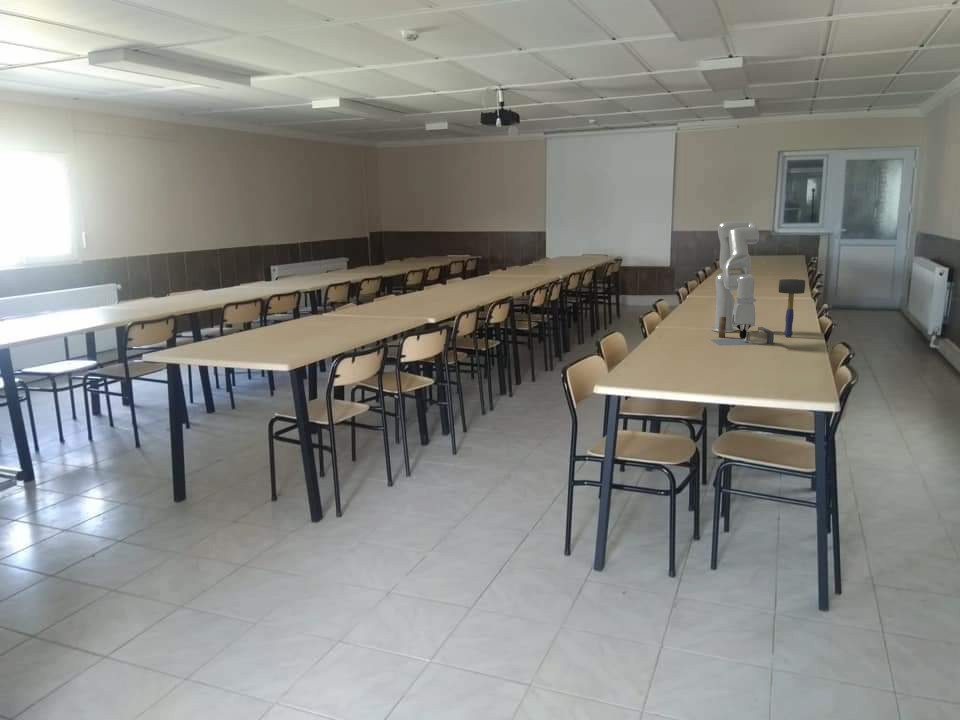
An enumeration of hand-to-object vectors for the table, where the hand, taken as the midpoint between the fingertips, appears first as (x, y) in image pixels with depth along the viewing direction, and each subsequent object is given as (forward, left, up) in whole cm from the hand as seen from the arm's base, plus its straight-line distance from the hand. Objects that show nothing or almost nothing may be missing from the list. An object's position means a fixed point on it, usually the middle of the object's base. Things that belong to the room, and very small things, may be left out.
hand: (742, 338), depth 346 cm
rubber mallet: (-18, +30, -4) cm, 36 cm away
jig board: (0, -1, -3) cm, 4 cm away
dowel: (-13, -6, -3) cm, 15 cm away
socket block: (0, +6, -2) cm, 6 cm away
